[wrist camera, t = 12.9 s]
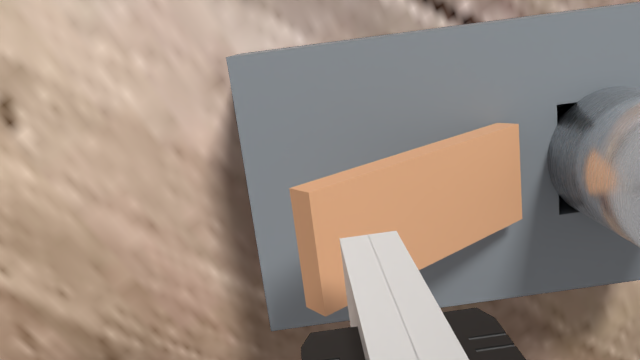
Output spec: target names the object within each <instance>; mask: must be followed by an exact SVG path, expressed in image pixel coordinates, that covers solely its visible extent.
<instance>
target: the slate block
mask: <svg viewBox="0 0 640 360" xmlns="http://www.w3.org/2000/svg"><path fill="white" fill-rule="evenodd" d="M226 59H227V65H228V71H229V77H230V83H231V89H232V95H233V101H234V108H235V114H236V120H237V126H238V132H239V138H240V144H241V150H242V156H243V162H244V169H245V175H246V181H247V187H248V193H249V199H250V205H251V211H252V217H253V223H254V230H255V236H256V242H257V248H258V254H259V260H260V266H261V272H262V278H263V284H264V291H265V297H266V303H267V309H268V315H269V321H270V327H271V331H276V330H283V329H290V328H297V327H305V326H312V325H319V324H326V323H333V322H341V321H348V320H350V319H349V311H348V306H346V307H344V308H342V309H340V310H338V311H336V312H334V313H332V314H330V315H328V316H326V317H325V316H323V315H321V314H319V313H317V312H315V311H313V310H311V309H309V308H307V307H306V301H305V294H304V287H303V280H302V273H301V266H300V259H299V253H298V246H297V239H296V232H295V225H294V218H293V211H292V204H291V197H290V190H289V188H291V187H295V186H298V185H301V184H304V183H307V182H310V181H314V180H317V179H320V178H323V177H326V176H330V175H333V174H336V173H339V172H342V171H345V170H349V169H352V168H355V167H358V166H361V165H365V164H368V163H371V162H374V161H377V160H380V159H384V158H387V157H390V156H393V155H396V154H400V153H403V152H406V151H409V150H412V149H415V148H419V147H422V146H425V145H428V144H431V143H435V142H438V141H441V140H444V139H447V138H450V137H454V136H457V135H460V134H463V133H466V132H470V131H473V130H476V129H479V128H482V127H485V126H489V125H492V124H495V123H511V124H519V145H520V171H521V197H522V219H521V220H519V221H517V222H515V223H513V224H511V225H509V226H507V227H505V228H503V229H501V230H499V231H497V232H495V233H493V234H491V235H489V236H487V237H485V238H483V239H481V240H479V241H477V242H475V243H473V244H471V245H469V246H467V247H465V248H463V249H461V250H459V251H457V252H455V253H453V254H451V255H449V256H447V257H445V258H443V259H441V260H439V261H437V262H435V263H433V264H431V265H429V266H427V267H425V268H423V269H420V270H419V272H420V273H421V275H422V277H423V279H424V281H425V282H426V284H427V286H428V288H429V289H430V291H431V293H432V295H433V296H434V298H435V300H436V302H437V304H438V305H439V307H440V308H441V307H449V306H456V305H463V304H470V303H477V302H485V301H492V300H499V299H506V298H513V297H521V296H528V295H535V294H542V293H549V292H557V291H564V290H571V289H578V288H585V287H593V286H600V285H607V284H614V283H621V282H629V281H636V280H640V247H638V246H637V245H635V244H633V243H632V242H630V241H628V240H627V239H625V238H623V237H621V236H620V235H618V234H616V233H615V232H613V231H611V230H610V229H608V228H606V227H605V226H603V225H601V224H600V223H598V222H596V221H595V220H593V219H591V218H590V217H588V216H586V215H585V214H583V213H581V212H579V211H578V210H576V209H574V208H573V207H571V206H570V205H569V204H567V203H566V202H565V201H564V200H563V199H562V198H561V197H560V195H559V194H558V193H557V191H556V189H555V188H554V186H553V184H552V181H551V179H550V175H549V171H548V150H549V144H550V141H551V138H552V135H553V133H554V130H555V128H556V126H557V105H559V104H567V103H574V102H578V101H579V100H581V99H582V98H584V97H585V96H587V95H589V94H591V93H593V92H595V91H598V90H601V89H604V88H608V87H614V86H629V87H637V88H640V2H633V3H626V4H618V5H610V6H603V7H595V8H587V9H580V10H572V11H564V12H557V13H549V14H541V15H534V16H526V17H518V18H511V19H503V20H495V21H488V22H480V23H472V24H465V25H457V26H449V27H442V28H434V29H426V30H419V31H411V32H403V33H396V34H388V35H381V36H373V37H365V38H358V39H350V40H342V41H335V42H327V43H319V44H312V45H304V46H296V47H289V48H281V49H273V50H266V51H258V52H250V53H243V54H237V55H234V56H230V57H226Z"/></svg>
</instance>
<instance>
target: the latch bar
mask: <svg viewBox="0 0 640 360" xmlns="http://www.w3.org/2000/svg"><path fill="white" fill-rule="evenodd" d="M289 190H290V197H291V204H292V211H293V218H294V225H295V232H296V239H297V246H298V253H299V259H300V266H301V273H302V280H303V287H304V294H305V301H306V307H307V308H309V309H311V310H313V311H315V312H317V313H319V314H321V315H323V316H325V317H326V316H328V315H330V314H332V313H334V312H336V311H338V310H340V309H342V308H344V307H346V306H348V303H347V295H346V287H345V279H344V271H343V263H342V255H341V247H340V239H339V238H346V237H354V236H361V235H368V234H376V233H383V232H390V231H397V233H398V234H399V236H400V238H401V240H402V242H403V243H404V245H405V247H406V249H407V250H408V252H409V254H410V256H411V258H412V259H413V261H414V263H415V265H416V266H417V268H418V270H420V269H423V268H425V267H427V266H429V265H431V264H433V263H435V262H437V261H439V260H441V259H443V258H445V257H447V256H449V255H451V254H453V253H455V252H457V251H459V250H461V249H463V248H465V247H467V246H469V245H471V244H473V243H475V242H477V241H479V240H481V239H483V238H485V237H487V236H489V235H491V234H493V233H495V232H497V231H499V230H501V229H503V228H505V227H507V226H509V225H511V224H513V223H515V222H517V221H519V220H521V219H522V197H521V171H520V145H519V124H511V123H495V124H492V125H489V126H485V127H482V128H479V129H476V130H473V131H470V132H466V133H463V134H460V135H457V136H454V137H450V138H447V139H444V140H441V141H438V142H435V143H431V144H428V145H425V146H422V147H419V148H415V149H412V150H409V151H406V152H403V153H400V154H396V155H393V156H390V157H387V158H384V159H380V160H377V161H374V162H371V163H368V164H365V165H361V166H358V167H355V168H352V169H349V170H345V171H342V172H339V173H336V174H333V175H330V176H326V177H323V178H320V179H317V180H314V181H310V182H307V183H304V184H301V185H298V186H295V187H291V188H289Z"/></svg>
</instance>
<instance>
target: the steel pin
mask: <svg viewBox="0 0 640 360" xmlns="http://www.w3.org/2000/svg"><path fill="white" fill-rule="evenodd" d="M548 171H549V175H550V179H551V181H552V184H553V186H554V188H555V189H556V191H557V193H558V194H559V195H560V197H561V198H562V199H563V200H564V201H565V202H566V203H567V204H569V205H570V206H571V207H573V208H574V209H576V210H578V211H579V212H581V213H583V214H585V215H586V216H588V217H590V218H591V219H593V220H595V221H596V222H598V223H600V224H601V225H603V226H605V227H606V228H608V229H610V230H611V231H613V232H615V233H616V234H618V235H620V236H621V237H623V238H625V239H627V240H628V241H630V242H632V243H633V244H635V245H637V246H638V247H640V88H637V87H629V86H614V87H608V88H604V89H601V90H598V91H595V92H593V93H591V94H589V95H587V96H585V97H584V98H582V99H581V100H579V101H578V102H574V103H567V104H559V105H557V126H556V128H555V130H554V133H553V135H552V138H551V141H550V144H549V150H548Z"/></svg>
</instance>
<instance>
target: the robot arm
mask: <svg viewBox="0 0 640 360" xmlns="http://www.w3.org/2000/svg"><path fill="white" fill-rule="evenodd" d="M339 239H340V247H341V255H342V263H343V271H344V279H345V287H346V295H347V303H348V311H349V319H350V327H349V328H342V329H335V330H328V331H321V332H314V333H310V335H309V336H308V338H307V339H306V341H305V342H304V344H303V345H302V347H301V357H302V360H526V359H525V358H524V356H523V355H522V354H521V352H520V351H519V350H518V348H517V347H516V346H514V343H513V342H512V340H511V339H510V338H509V336H508V335H506V333H505V331H504V330H503V328H502V327H501V326H500V324H499V323H498V321H497V320H496V319H495V318H494V317H492V316H490V315H489V314H487V313H485V312H483V311H481V310H480V309H478V308H471V309H464V310H457V311H450V312H442V311H441V309H440V307H439V305H438V304H437V302H436V300H435V298H434V296H433V295H432V293H431V291H430V289H429V288H428V286H427V284H426V282H425V281H424V279H423V277H422V275H421V273H420V272H419V270H418V268H417V266H416V265H415V263H414V261H413V259H412V258H411V256H410V254H409V252H408V250H407V249H406V247H405V245H404V243H403V242H402V240H401V238H400V236H399V234H398V233H397V231H390V232H383V233H376V234H368V235H361V236H354V237H346V238H339Z"/></svg>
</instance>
